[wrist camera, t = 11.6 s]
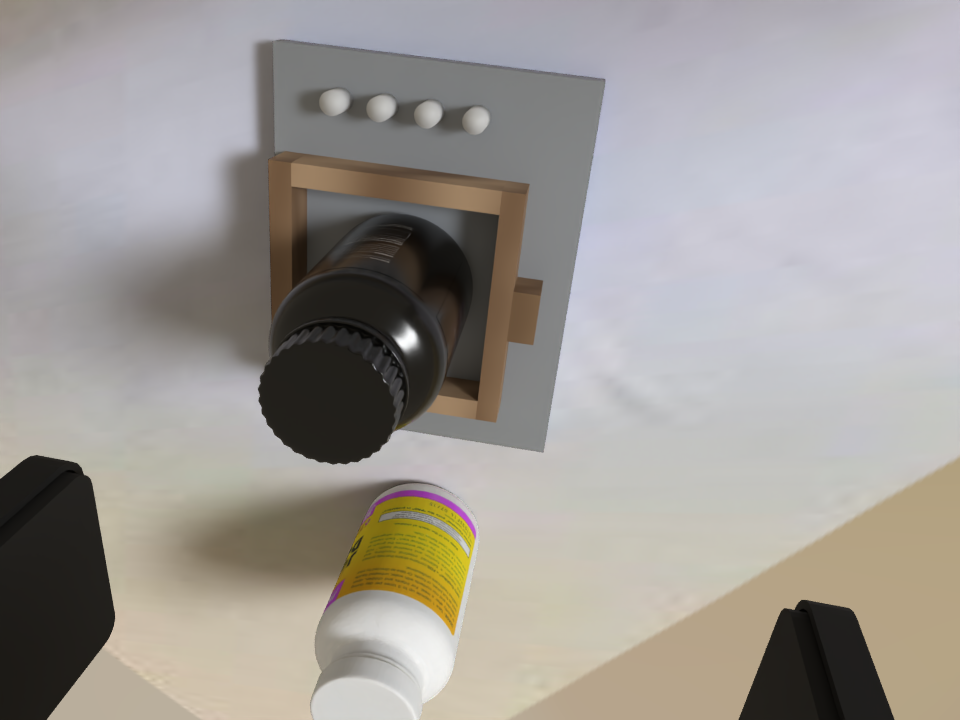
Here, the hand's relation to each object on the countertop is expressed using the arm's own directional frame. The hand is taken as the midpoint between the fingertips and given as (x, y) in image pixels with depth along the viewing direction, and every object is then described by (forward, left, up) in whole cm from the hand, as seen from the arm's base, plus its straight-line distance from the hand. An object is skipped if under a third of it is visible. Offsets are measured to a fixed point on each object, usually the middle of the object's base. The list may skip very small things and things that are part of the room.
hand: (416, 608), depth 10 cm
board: (+5, +4, -27) cm, 27 cm away
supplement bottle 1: (+6, +5, -26) cm, 27 cm away
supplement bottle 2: (+4, +20, -27) cm, 34 cm away
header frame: (+6, +5, -25) cm, 27 cm away
